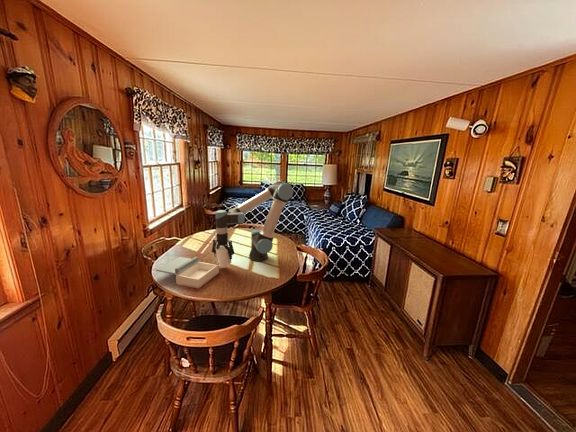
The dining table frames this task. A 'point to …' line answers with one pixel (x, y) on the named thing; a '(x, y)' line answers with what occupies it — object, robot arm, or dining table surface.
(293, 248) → the dining table surface
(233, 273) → the dining table surface
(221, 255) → the foam cup
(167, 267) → the lid
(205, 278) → the box
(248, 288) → the dining table surface
